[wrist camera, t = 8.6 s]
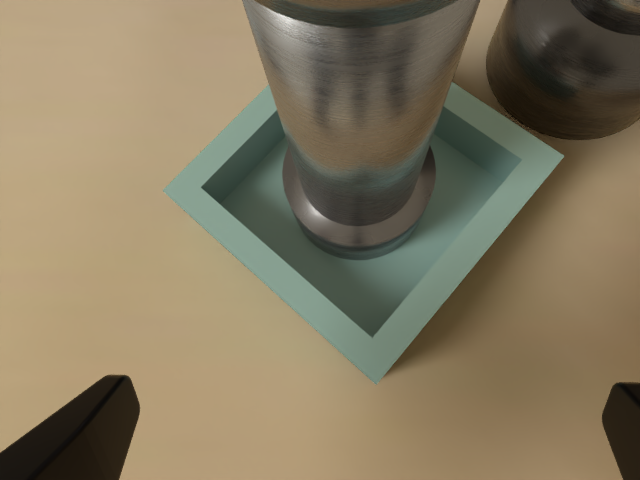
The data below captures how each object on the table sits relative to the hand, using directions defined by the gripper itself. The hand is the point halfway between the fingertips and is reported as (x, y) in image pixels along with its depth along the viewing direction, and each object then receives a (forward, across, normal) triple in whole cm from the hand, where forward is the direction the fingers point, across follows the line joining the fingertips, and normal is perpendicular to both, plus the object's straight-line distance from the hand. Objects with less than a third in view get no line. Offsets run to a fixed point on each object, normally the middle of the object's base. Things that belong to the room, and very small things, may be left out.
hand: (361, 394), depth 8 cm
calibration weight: (+15, -9, -4) cm, 18 cm away
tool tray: (+11, 0, +1) cm, 11 cm away
